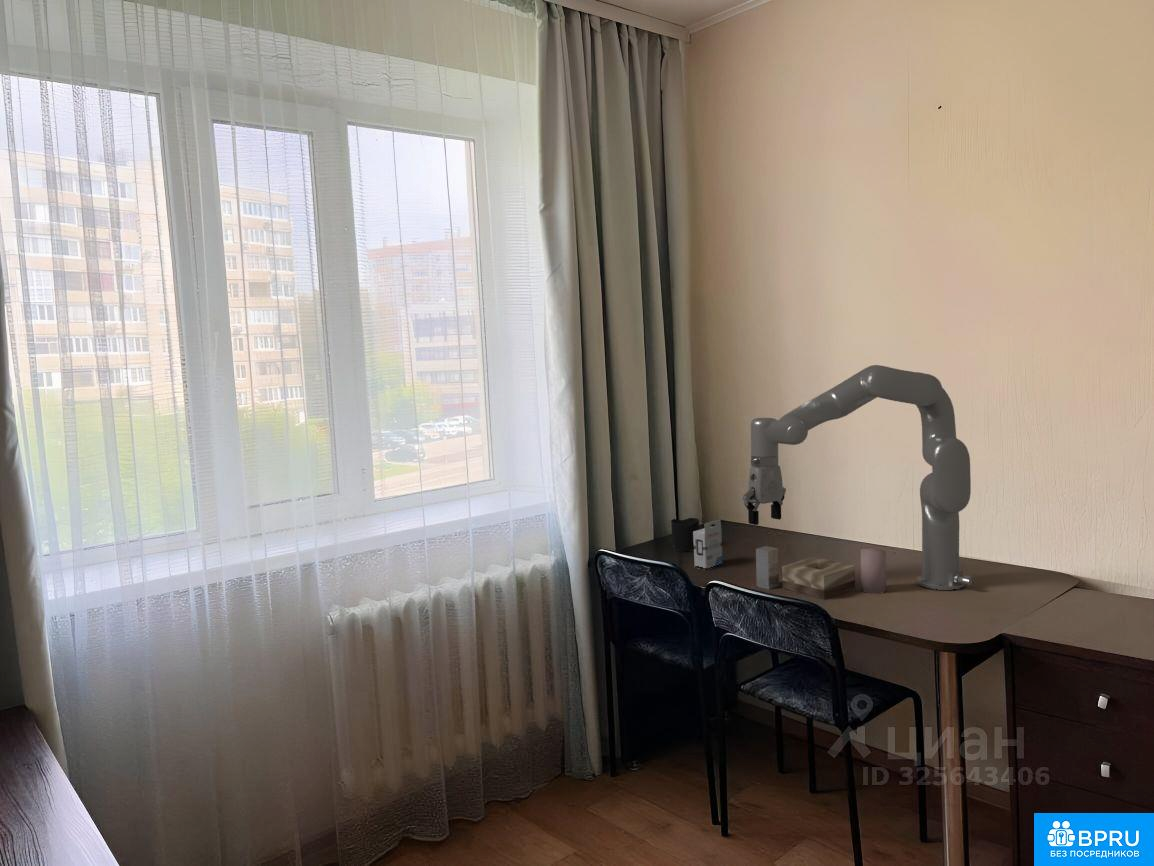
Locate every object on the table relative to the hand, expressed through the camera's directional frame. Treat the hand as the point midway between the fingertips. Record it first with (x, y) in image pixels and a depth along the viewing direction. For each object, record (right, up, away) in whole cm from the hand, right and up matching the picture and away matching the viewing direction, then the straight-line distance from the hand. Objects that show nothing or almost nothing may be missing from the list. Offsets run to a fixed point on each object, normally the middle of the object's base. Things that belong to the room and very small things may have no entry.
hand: (764, 521), depth 240 cm
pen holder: (-16, -15, +48) cm, 52 cm away
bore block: (+15, -19, -2) cm, 24 cm away
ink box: (-12, -17, +26) cm, 33 cm away
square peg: (+1, -19, +2) cm, 19 cm away
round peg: (+29, -18, -6) cm, 35 cm away
